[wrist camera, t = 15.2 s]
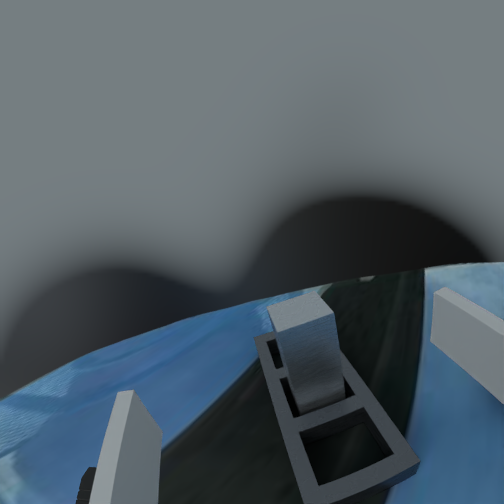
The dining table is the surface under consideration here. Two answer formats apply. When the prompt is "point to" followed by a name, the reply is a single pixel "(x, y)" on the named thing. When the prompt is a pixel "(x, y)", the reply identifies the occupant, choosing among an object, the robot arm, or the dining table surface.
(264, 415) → the dining table surface
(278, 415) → the rack rail
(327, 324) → the grey upright post
